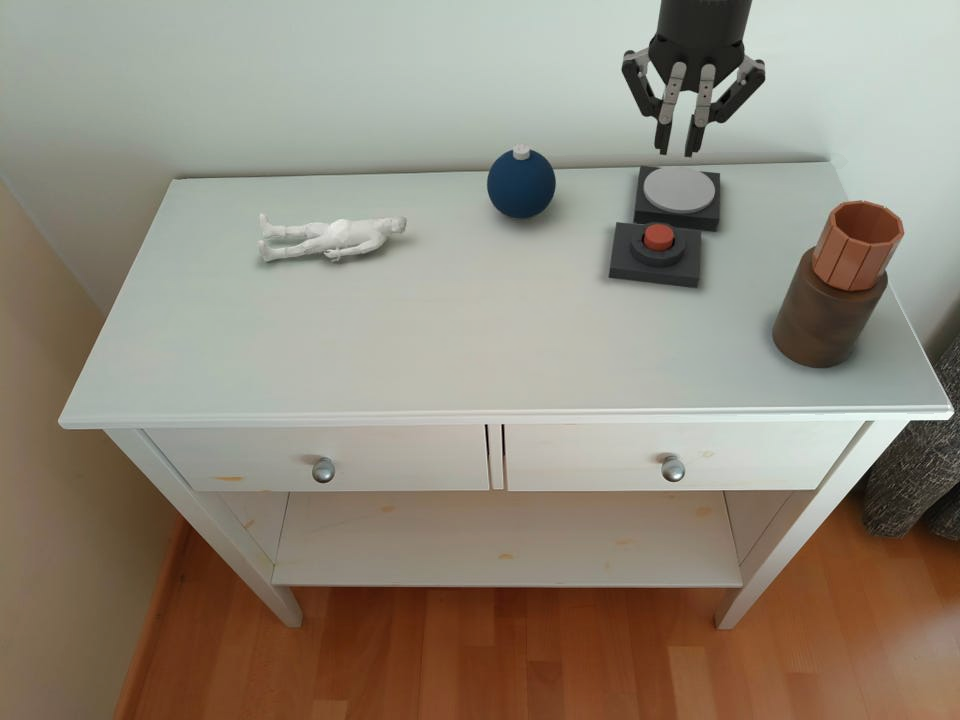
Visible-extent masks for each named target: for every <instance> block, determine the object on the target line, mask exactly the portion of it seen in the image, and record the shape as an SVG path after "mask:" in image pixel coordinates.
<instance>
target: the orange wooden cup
mask: <svg viewBox="0 0 960 720" xmlns="http://www.w3.org/2000/svg"><path fill="white" fill-rule="evenodd" d="M904 236H905V229H904V223H903V220H902V219H901V217H900V216H898V215H897V214H896V213H895V212H893V211H892V210H891V209H889V208H888V207H887V206H885V205H881V204H879V203H874V202H871V201H868V200H861V199H859V200H851V201H843V202H840V203H839V204H838V205H837V206H835V207H834V208H833V209H832V210H831V211H830V212H829V215H828V217H827V219H826V221H825V224H824V226H823V229H822V231H821V234H820V236H819V238H818V240H817V243H816V245H815V246H816V247H815V250H814V252H813V255H812V257H811V258H812V268H813V270H814V272H815V273H816V274H817V275H818V276H819V277H820V278H821V279H822V280H823V281H824V282H825V283H827V284H828V285H830V286H832V287H835V288H838V289H841V290H848V291H855V290H862V289H869V288H871V287H872V286H873V285H874V284H875V283H876V282H877V281H878V280H879V279H880V278H881V276H882V275H883V273H884V271H885V270H886V269H887V267H888V265H889V264H890V262H891V259H892V258H893V256H894V254H895V253H896V251H897V249H898V247H899V245H900V243H901V242H902V240H903V238H904Z"/></svg>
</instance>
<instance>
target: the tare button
mask: <svg viewBox="0 0 960 720" xmlns="http://www.w3.org/2000/svg"><path fill="white" fill-rule="evenodd" d="M673 237H674V233H673V231H672V230H671V229H670V228H669V227H668V226H665V225H661V224H655V225H651V226H649V227H648V228H647V229H646V231H645V237H644V243H645V245H646V247H648V248H649V249H651V250H653V251H665V250H667V249H669V248H670V247H671V245H672V242H673Z"/></svg>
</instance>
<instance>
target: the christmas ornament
mask: <svg viewBox="0 0 960 720" xmlns="http://www.w3.org/2000/svg"><path fill="white" fill-rule="evenodd" d="M530 148H531V147H530V146H529V145H527V144H525V143H518V144H515V145H514V146H513V148H512V149H511V150H507V151H506V152H504V153H502V154H501V155H499V157H498V158H497V159H495V161H494V162H493V163H492V165H491V167H490V169H489V170H488V174H487V179H486V190H487V194H488V197H489V200H490V202H491V203H492V205H493V206H494V208H495V209H496V210H497V211H498V212H500V213H501V214H502V215H504V216H506V217H508V218H511V219H515V220H527V219H531V218H534V217H536V216H538V215H539V214H541V213H542V212H544V211H545V210H546V209H547V208H548V207H549V205H550V204H551V203H552V201H553V198H554V197H555V193H556V187H557V179H556V173H555V171H554V169H553V166H552V164H551V163H550V162H549V160H548V159H547V158H546V157H545V156H544V155H543V154H541V153H540V152H538V151H535V150H533V149H530Z"/></svg>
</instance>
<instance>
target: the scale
mask: <svg viewBox="0 0 960 720" xmlns="http://www.w3.org/2000/svg"><path fill="white" fill-rule="evenodd" d="M638 172H639V173H638V179H637V186H636V187H637V188H636V194H635V204H634V210H633V219H632V224H640V225H643V224H647V223H651V222H658V223H667V224H669V225H671V226H673V227H675V228H677V229H687V230H696V231H706V232H707V231H708V232H717V229H718V226H719V222H720V215H721V213H720V212H721V211H720V210H721V207H720V206H721V173H720V172H714V171H713V172H712V171H703V170H697V169H695V168H693V167H687V166H681V165H669V166H664V167H660V166H659V167H658V166H650V165H649V166H647V165H640V167H639V171H638Z"/></svg>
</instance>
